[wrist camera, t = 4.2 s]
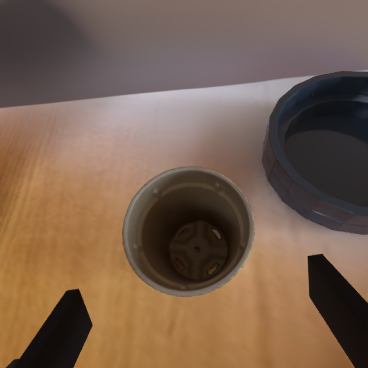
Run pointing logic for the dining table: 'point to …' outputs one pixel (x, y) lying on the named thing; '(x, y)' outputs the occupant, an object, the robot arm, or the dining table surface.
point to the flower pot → (196, 235)
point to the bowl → (322, 150)
